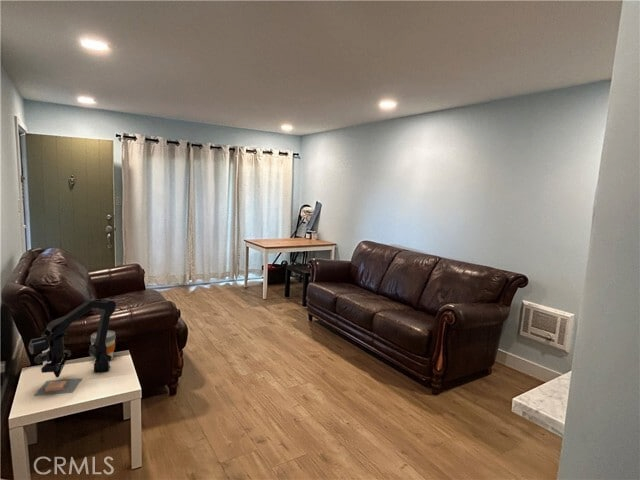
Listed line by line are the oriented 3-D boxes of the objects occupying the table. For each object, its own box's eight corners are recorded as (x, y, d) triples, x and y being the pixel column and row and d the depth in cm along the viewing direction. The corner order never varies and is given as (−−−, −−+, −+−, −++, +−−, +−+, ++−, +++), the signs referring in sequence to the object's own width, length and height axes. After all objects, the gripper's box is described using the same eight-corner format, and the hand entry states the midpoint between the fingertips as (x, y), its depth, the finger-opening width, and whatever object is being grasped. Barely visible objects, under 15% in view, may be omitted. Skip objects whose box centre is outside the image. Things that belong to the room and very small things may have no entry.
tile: (66, 380, 183) (61, 387, 177) (66, 383, 183) (62, 390, 177) (50, 382, 181) (45, 388, 175) (50, 385, 181) (45, 391, 175)
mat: (82, 379, 189) (82, 378, 189) (72, 393, 176) (72, 392, 176) (46, 381, 185) (46, 380, 184) (33, 397, 171) (33, 396, 171)
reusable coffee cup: (92, 366, 202) (91, 340, 200) (90, 357, 212) (89, 332, 210) (117, 361, 210) (117, 336, 208) (114, 352, 220) (114, 328, 218)
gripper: (45, 340, 185) (46, 369, 187) (27, 356, 167) (29, 388, 169) (70, 339, 188) (71, 367, 190) (55, 355, 170) (56, 386, 172)
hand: (57, 377), depth 180 cm, fingers closed
